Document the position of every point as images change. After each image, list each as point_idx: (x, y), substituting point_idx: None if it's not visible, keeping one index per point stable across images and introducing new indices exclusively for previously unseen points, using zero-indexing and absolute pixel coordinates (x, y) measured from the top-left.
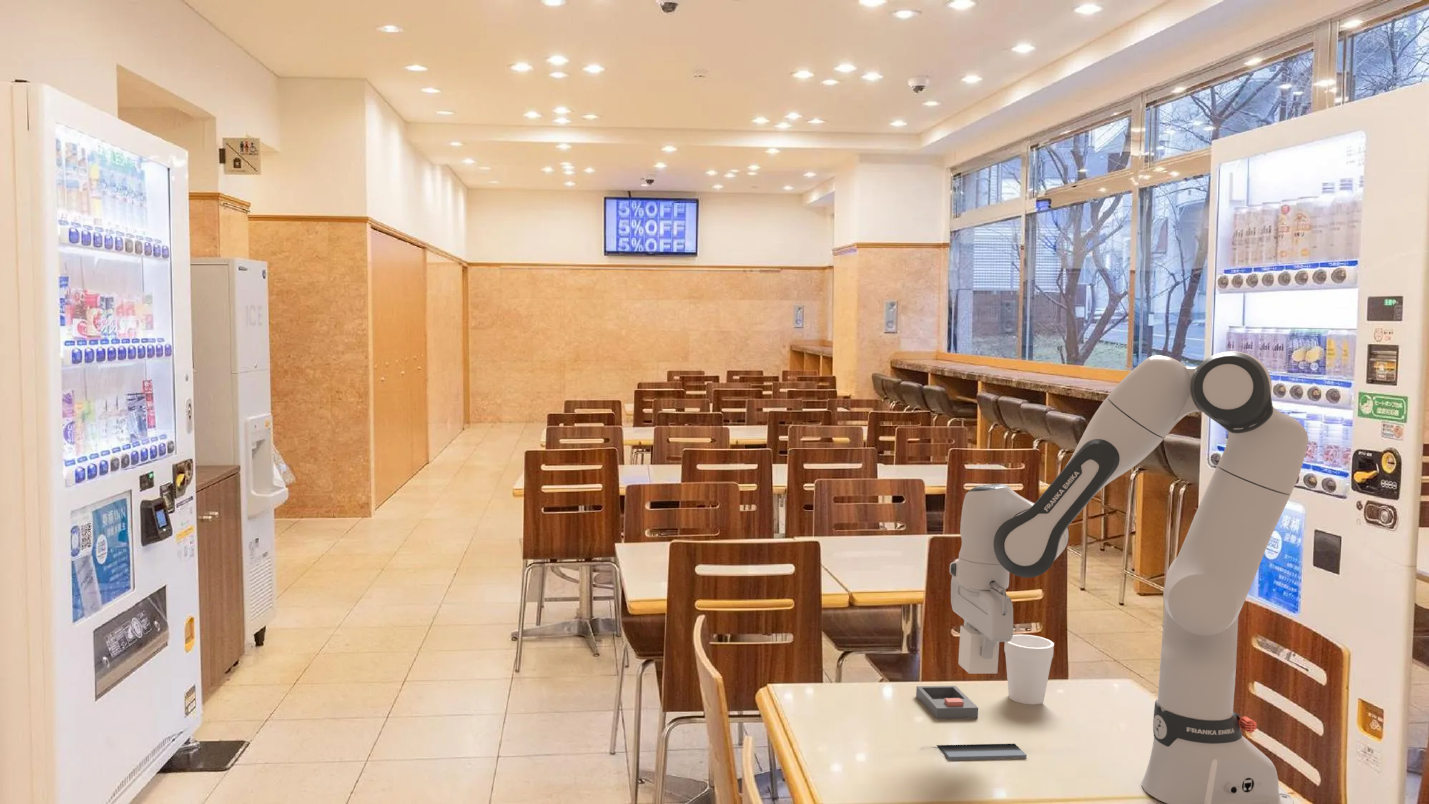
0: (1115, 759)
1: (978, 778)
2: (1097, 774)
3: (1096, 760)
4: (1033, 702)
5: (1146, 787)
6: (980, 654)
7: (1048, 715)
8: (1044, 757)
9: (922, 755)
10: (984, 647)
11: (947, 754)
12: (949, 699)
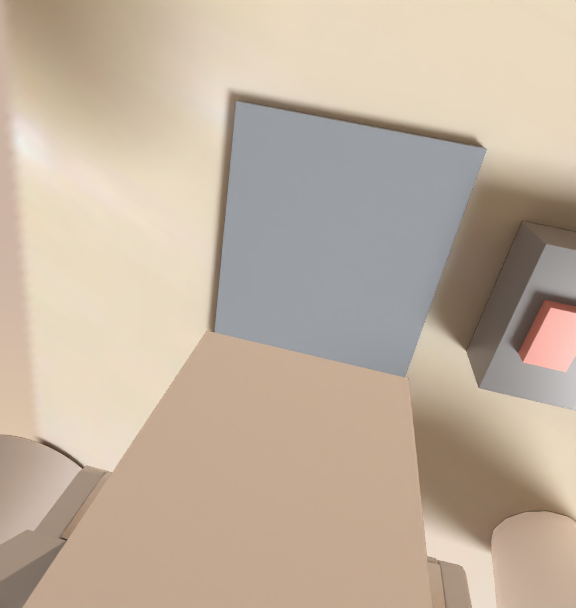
0: None
1: (101, 124)
2: (118, 418)
3: None
4: (496, 552)
5: (29, 446)
6: None
7: (452, 540)
8: None
9: (297, 14)
10: (3, 543)
11: (255, 106)
12: (573, 327)
